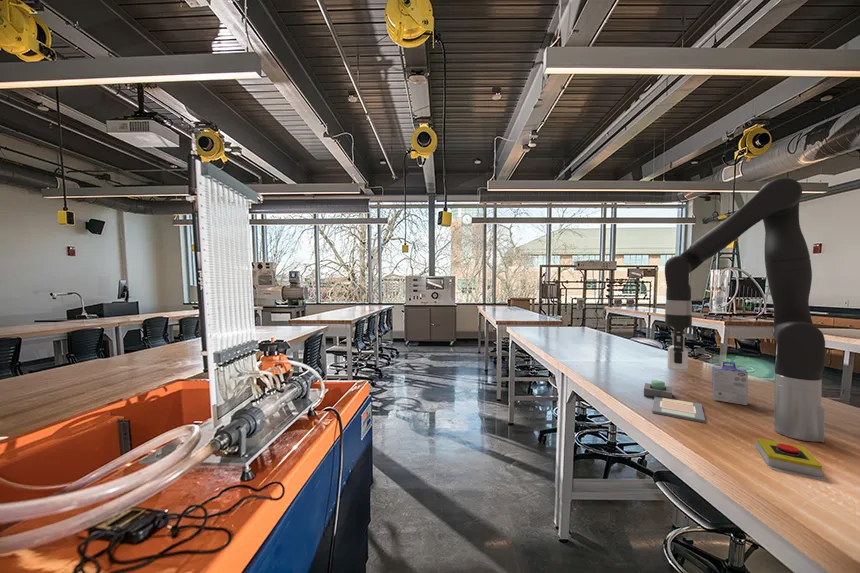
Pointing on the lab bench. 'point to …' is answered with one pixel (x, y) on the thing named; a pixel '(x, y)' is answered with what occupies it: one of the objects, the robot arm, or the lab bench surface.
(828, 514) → the lab bench surface
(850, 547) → the lab bench surface
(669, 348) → the eye dropper bottle
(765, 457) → the emergency button
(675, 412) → the colouring board
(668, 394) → the button housing
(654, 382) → the button
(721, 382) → the ink cartridge box
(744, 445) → the lab bench surface
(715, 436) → the lab bench surface
